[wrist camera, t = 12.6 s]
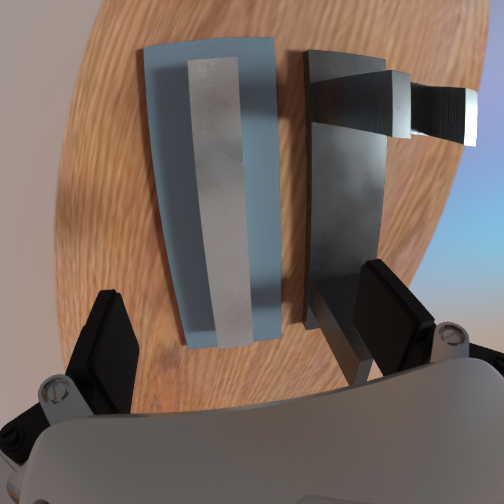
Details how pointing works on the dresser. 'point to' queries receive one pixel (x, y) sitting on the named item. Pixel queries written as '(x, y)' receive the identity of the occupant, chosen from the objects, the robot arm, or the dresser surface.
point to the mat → (185, 183)
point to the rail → (222, 194)
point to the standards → (359, 178)
